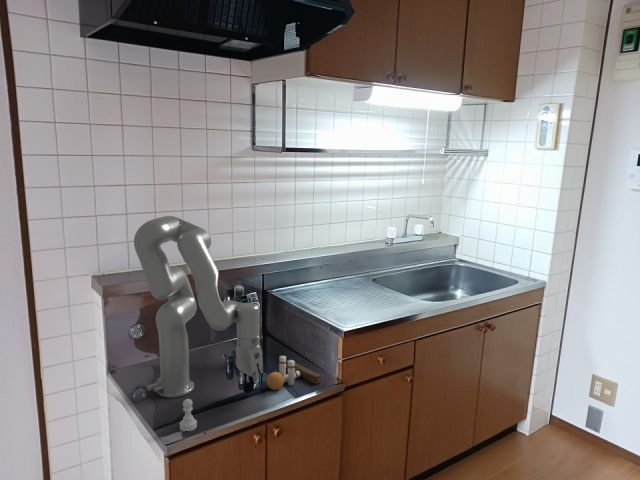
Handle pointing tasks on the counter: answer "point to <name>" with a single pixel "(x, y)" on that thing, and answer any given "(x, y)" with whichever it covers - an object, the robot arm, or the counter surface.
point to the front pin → (296, 375)
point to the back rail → (306, 373)
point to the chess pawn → (188, 417)
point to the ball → (275, 380)
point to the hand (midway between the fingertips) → (248, 391)
